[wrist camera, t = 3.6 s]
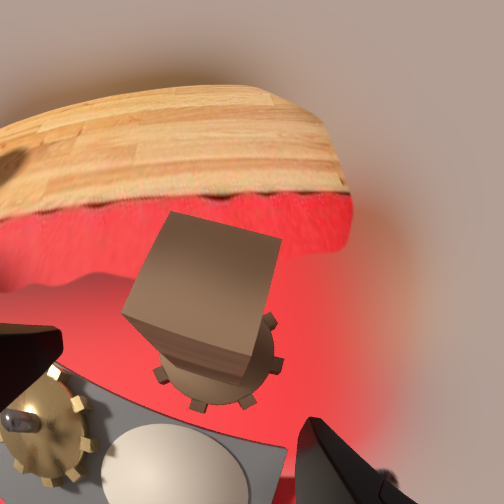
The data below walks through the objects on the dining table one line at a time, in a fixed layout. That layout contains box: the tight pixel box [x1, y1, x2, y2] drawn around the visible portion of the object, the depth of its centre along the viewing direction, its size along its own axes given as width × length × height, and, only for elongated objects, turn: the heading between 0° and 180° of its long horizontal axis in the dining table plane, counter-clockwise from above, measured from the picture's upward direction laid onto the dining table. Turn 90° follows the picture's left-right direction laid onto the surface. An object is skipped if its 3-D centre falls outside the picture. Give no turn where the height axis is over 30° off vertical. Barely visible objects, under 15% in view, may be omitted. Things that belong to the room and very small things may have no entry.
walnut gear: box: [121, 211, 284, 413], centre depth 15 cm, size 9×9×12 cm
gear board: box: [0, 361, 288, 504], centre depth 12 cm, size 16×23×2 cm
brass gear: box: [0, 365, 100, 488], centre depth 12 cm, size 10×10×4 cm
